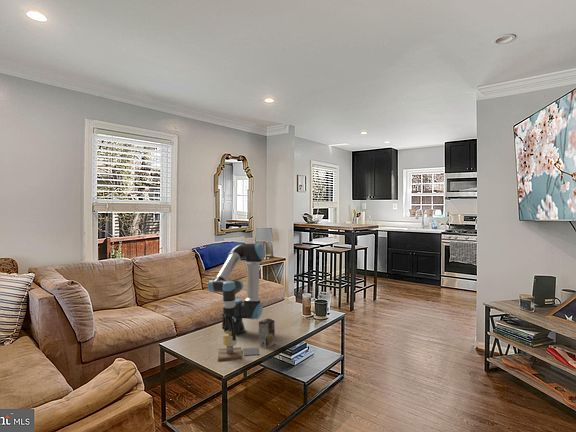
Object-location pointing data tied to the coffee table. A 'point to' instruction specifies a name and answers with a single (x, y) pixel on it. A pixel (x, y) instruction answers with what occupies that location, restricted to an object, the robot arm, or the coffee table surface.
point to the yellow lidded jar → (227, 338)
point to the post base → (231, 356)
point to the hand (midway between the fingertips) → (230, 343)
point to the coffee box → (266, 333)
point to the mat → (251, 351)
